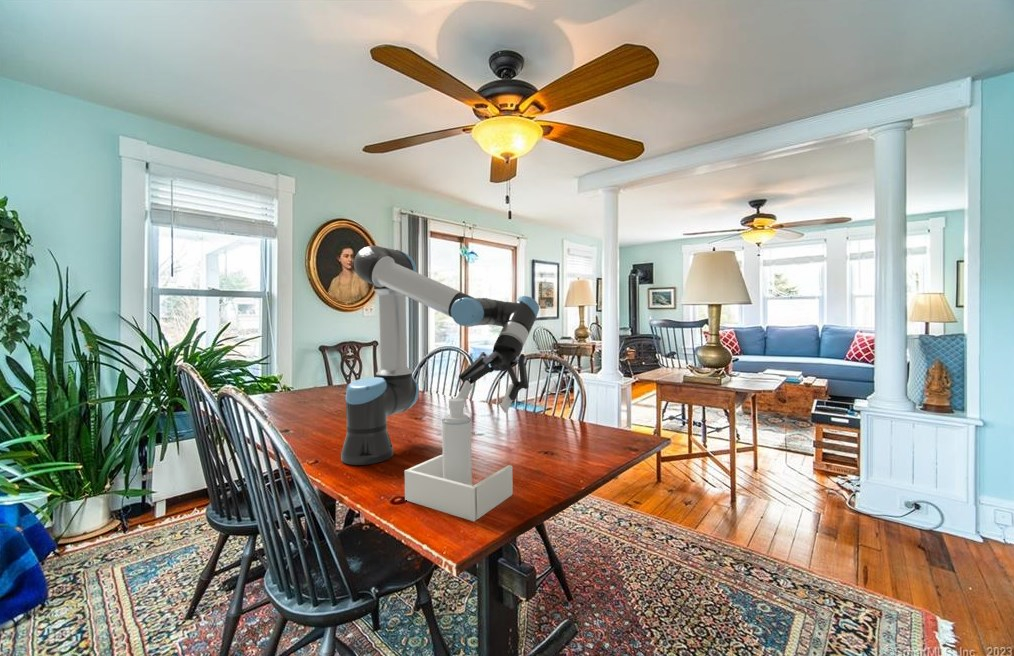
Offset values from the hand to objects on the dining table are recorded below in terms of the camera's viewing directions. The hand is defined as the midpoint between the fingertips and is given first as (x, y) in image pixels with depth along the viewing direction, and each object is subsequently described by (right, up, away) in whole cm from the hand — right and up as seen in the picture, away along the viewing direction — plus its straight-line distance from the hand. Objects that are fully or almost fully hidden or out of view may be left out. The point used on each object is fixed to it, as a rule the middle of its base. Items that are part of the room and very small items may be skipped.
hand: (480, 406), depth 106 cm
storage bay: (-5, -20, -5) cm, 22 cm away
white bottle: (-5, -21, -6) cm, 22 cm away
